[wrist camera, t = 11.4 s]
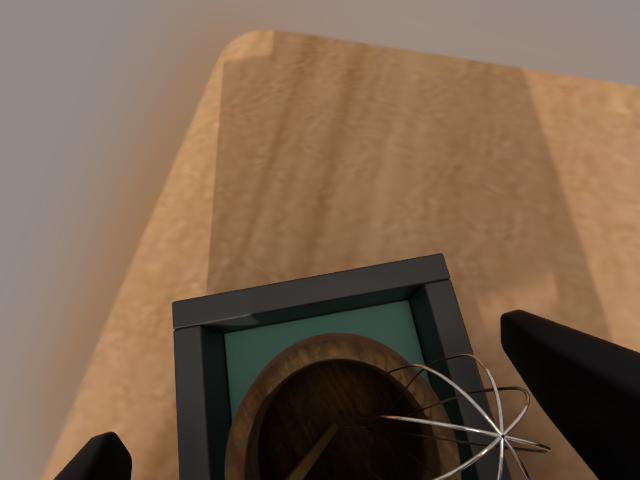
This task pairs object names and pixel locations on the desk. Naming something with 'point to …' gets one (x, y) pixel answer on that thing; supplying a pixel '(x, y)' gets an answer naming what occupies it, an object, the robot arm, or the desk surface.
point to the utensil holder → (353, 417)
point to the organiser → (315, 319)
